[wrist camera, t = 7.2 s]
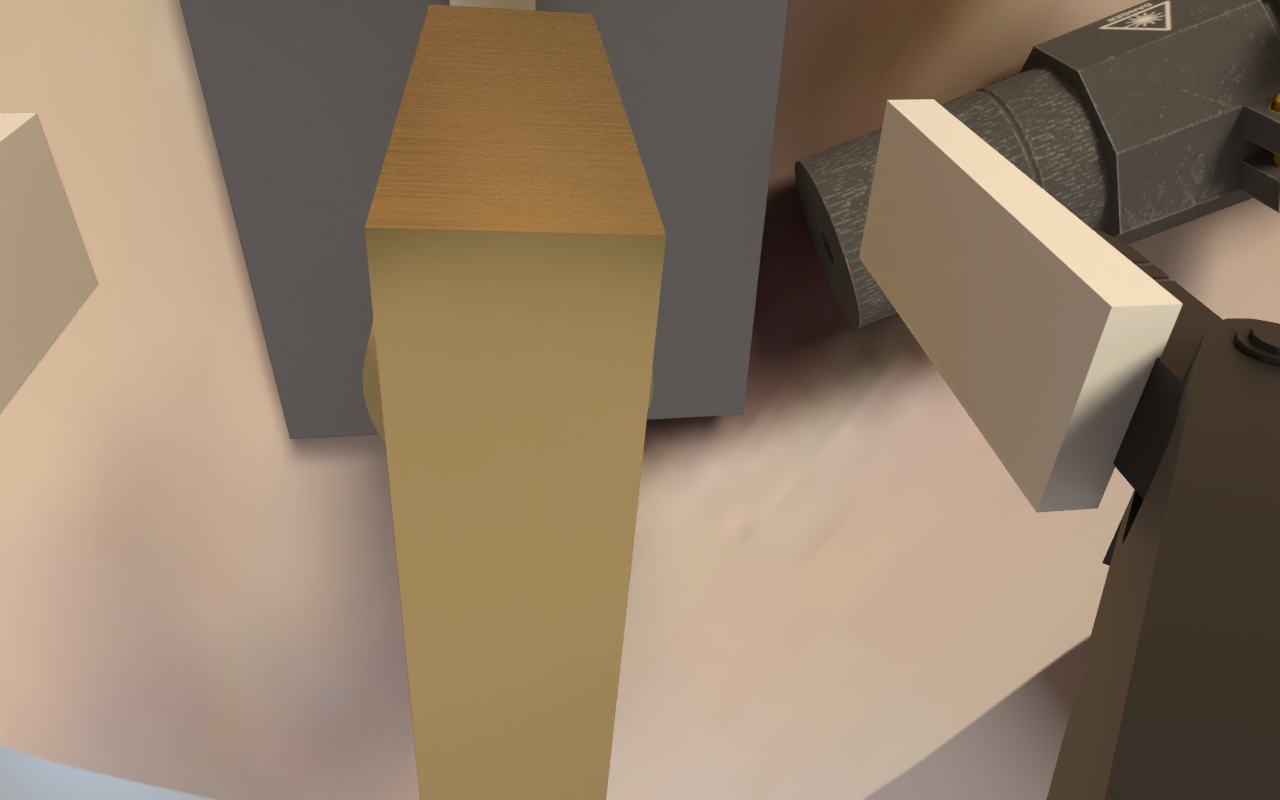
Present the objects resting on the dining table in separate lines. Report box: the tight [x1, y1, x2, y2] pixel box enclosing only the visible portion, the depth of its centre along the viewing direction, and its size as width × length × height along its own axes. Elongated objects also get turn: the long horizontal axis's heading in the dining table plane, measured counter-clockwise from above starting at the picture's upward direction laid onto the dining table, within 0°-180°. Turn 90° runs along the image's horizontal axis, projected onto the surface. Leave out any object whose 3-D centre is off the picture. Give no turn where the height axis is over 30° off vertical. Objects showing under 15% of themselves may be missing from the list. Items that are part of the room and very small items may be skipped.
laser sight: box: [795, 0, 1280, 329], centre depth 26 cm, size 10×22×10 cm, turn 111°
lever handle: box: [363, 4, 666, 800], centre depth 18 cm, size 6×16×13 cm, turn 175°
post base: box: [180, 0, 788, 439], centre depth 27 cm, size 16×16×7 cm
